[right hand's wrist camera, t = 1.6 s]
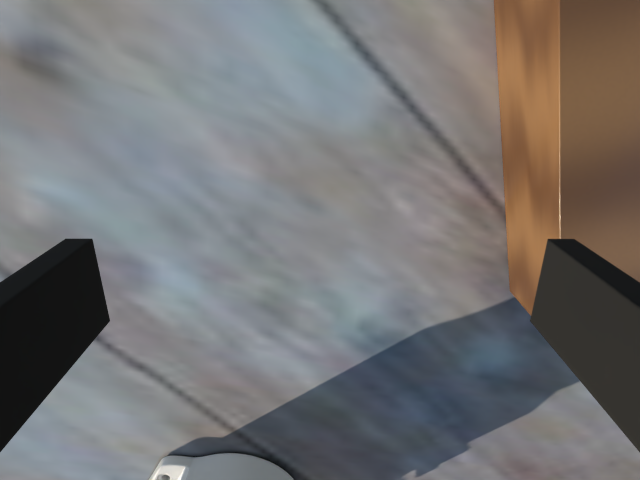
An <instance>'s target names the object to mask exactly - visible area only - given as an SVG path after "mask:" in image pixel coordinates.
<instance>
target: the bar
mask: <svg viewBox="0 0 640 480" xmlns="http://www.w3.org/2000/svg"><path fill="white" fill-rule="evenodd" d="M494 9H495V27H496V46H497V64H498V82H499V100H500V118H501V137H502V155H503V173H504V191H505V209H506V228H507V246H508V264H509V282H510V292H511V293H512V294H513V295H514V296H515V298H516V299H517V300H518V301H519V302H520V303H521V305H522V306H523V307H524V308H525V309H526V311H527V312H528V313H529V314H530V315H531V314H532V310H533V305H534V300H535V296H536V291H537V286H538V282H539V277H540V272H541V268H542V263H543V258H544V254H545V249H546V244H547V240H548V239H575V240H577V241H578V242H580V243H581V244H583V245H584V246H586V247H587V248H589V249H590V250H592V251H593V252H595V253H596V254H598V255H599V256H601V257H602V258H604V259H605V260H607V261H608V262H610V263H611V264H613V265H614V266H616V267H617V268H619V269H620V270H622V271H623V272H625V273H626V274H628V275H629V276H631V277H632V278H634V279H635V280H637V281H638V282H640V0H494Z"/></svg>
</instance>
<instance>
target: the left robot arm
mask: <svg viewBox="0 0 640 480" xmlns="http://www.w3.org/2000/svg"><path fill="white" fill-rule="evenodd" d="M149 480H294V479H293V478H292V477H291V476H290V475H289V474H288V473H287V472H286V471H284V470H283V469H282V468H280V467H279V466H277V465H275V464H273V463H271V462H269V461H267V460H265V459H262V458H259V457H255V456H251V455H246V454H238V453H222V454H213V455H208V456H203V457H186V456H166V457H164V458H163V459H162V460H161V461H160V463H159V464H158V466H157V468H156V469H155V471H154V473H153V474H152V476H151V477H150V479H149Z"/></svg>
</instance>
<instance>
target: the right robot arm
mask: <svg viewBox="0 0 640 480" xmlns="http://www.w3.org/2000/svg"><path fill="white" fill-rule="evenodd" d="M109 321H110V319H109V314H108V310H107V305H106V300H105V296H104V291H103V286H102V282H101V277H100V272H99V268H98V263H97V258H96V254H95V249H94V244H93V240H92V239H65V240H63V241H62V242H60V243H59V244H57V245H56V246H54V247H53V248H51V249H50V250H48V251H47V252H45V253H44V254H42V255H41V256H39V257H38V258H36V259H35V260H33V261H32V262H30V263H29V264H27V265H26V266H24V267H23V268H21V269H20V270H18V271H17V272H15V273H14V274H12V275H11V276H9V277H8V278H6V279H5V280H3V281H2V282H0V452H1V451H2V449H3V448H4V447H5V446H6V445H7V443H8V442H9V441H10V440H11V439H12V437H13V436H14V435H15V434H16V433H17V431H18V430H19V429H20V428H21V427H22V425H23V424H24V423H25V422H26V421H27V419H28V418H29V417H30V416H31V415H32V413H33V412H34V411H35V410H36V409H37V408H38V406H39V405H40V404H41V403H42V402H43V400H44V399H45V398H46V397H47V396H48V394H49V393H50V392H51V391H52V390H53V388H54V387H55V386H56V385H57V384H58V382H59V381H60V380H61V379H62V378H63V376H64V375H65V374H66V373H67V372H68V370H69V369H70V368H71V367H72V366H73V364H74V363H75V362H76V361H77V360H78V358H79V357H80V356H81V355H82V354H83V352H84V351H85V350H86V349H87V348H88V346H89V345H90V344H91V343H92V342H93V340H94V339H95V338H96V337H97V336H98V334H99V333H100V332H101V331H102V330H103V328H104V327H105V326H106V325H107V324H108V323H109ZM530 321H531V323H532V324H533V325H534V326H535V327H536V328H537V330H538V331H539V332H540V333H541V334H542V336H543V337H544V338H545V339H546V340H547V342H548V343H549V344H550V345H551V346H552V348H553V349H554V350H555V351H556V352H557V354H558V355H559V356H560V357H561V358H562V360H563V361H564V362H565V363H566V364H567V366H568V367H569V368H570V369H571V370H572V372H573V373H574V374H575V375H576V376H577V378H578V379H579V380H580V381H581V382H582V384H583V385H584V386H585V387H586V388H587V390H588V391H589V392H590V393H591V394H592V396H593V397H594V398H595V399H596V400H597V402H598V403H599V404H600V405H601V406H602V408H603V409H604V410H605V411H606V412H607V413H608V415H609V416H610V417H611V418H612V419H613V421H614V422H615V423H616V424H617V425H618V427H619V428H620V429H621V430H622V431H623V433H624V434H625V435H626V436H627V437H628V439H629V440H630V441H631V442H632V443H633V445H634V446H635V447H636V448H637V449H638V451H639V452H640V282H638V281H637V280H635V279H634V278H632V277H631V276H629V275H628V274H626V273H625V272H623V271H622V270H620V269H619V268H617V267H616V266H614V265H613V264H611V263H610V262H608V261H607V260H605V259H604V258H602V257H601V256H599V255H598V254H596V253H595V252H593V251H592V250H590V249H589V248H587V247H586V246H584V245H583V244H581V243H580V242H578V241H577V240H575V239H548V240H547V244H546V249H545V254H544V258H543V263H542V268H541V272H540V277H539V282H538V286H537V291H536V296H535V300H534V305H533V310H532V314H531V319H530Z"/></svg>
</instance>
